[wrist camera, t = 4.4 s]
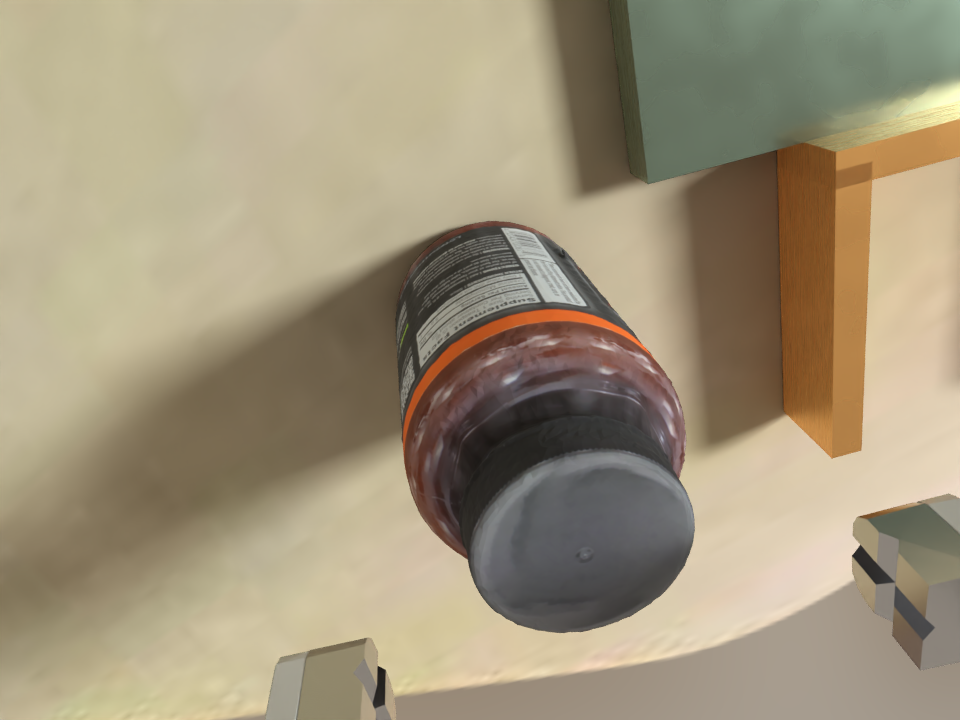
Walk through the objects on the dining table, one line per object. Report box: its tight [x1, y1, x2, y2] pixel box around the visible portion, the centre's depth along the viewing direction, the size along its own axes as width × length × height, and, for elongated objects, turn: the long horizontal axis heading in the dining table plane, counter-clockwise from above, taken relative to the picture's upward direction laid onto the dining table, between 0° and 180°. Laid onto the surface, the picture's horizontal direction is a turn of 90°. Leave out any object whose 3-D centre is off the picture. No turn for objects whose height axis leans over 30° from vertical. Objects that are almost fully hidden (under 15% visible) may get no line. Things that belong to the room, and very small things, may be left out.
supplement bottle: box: [396, 221, 695, 633], centre depth 17 cm, size 6×6×11 cm
